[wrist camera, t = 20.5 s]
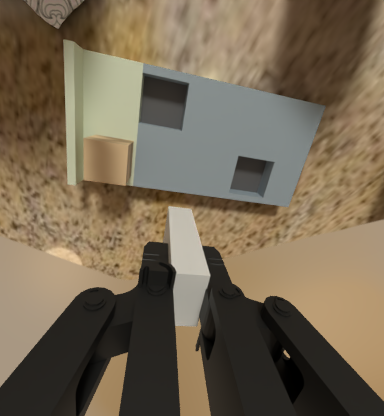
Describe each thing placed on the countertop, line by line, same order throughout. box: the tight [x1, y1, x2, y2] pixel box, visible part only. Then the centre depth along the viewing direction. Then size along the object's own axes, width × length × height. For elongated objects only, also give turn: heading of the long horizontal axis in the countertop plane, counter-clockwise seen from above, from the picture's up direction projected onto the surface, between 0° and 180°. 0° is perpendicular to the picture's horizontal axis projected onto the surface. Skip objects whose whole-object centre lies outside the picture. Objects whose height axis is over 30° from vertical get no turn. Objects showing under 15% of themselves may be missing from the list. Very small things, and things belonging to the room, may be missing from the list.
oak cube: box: [83, 135, 134, 186], centre depth 29 cm, size 5×5×5 cm
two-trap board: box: [63, 39, 326, 207], centre depth 32 cm, size 34×16×6 cm, turn 80°
